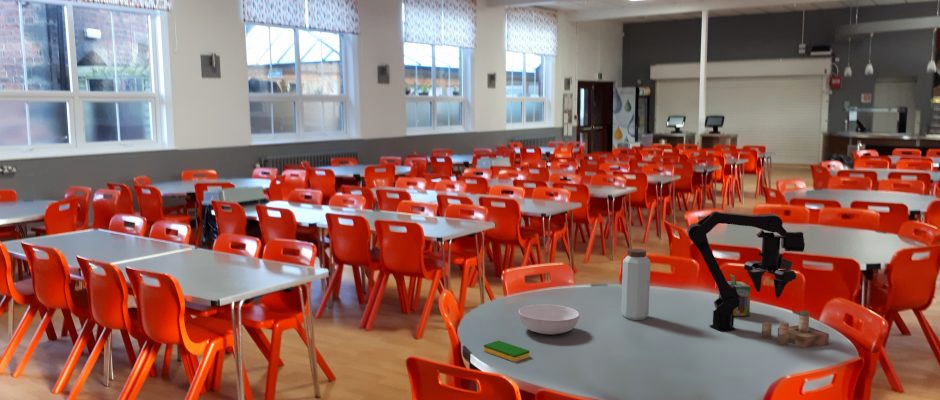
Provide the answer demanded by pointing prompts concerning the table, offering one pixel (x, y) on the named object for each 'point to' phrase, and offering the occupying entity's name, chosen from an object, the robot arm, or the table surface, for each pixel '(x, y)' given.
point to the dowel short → (766, 330)
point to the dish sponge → (506, 351)
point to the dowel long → (804, 321)
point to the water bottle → (635, 285)
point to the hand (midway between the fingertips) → (768, 294)
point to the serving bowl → (548, 318)
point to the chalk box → (741, 298)
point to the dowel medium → (783, 333)
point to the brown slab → (807, 337)
